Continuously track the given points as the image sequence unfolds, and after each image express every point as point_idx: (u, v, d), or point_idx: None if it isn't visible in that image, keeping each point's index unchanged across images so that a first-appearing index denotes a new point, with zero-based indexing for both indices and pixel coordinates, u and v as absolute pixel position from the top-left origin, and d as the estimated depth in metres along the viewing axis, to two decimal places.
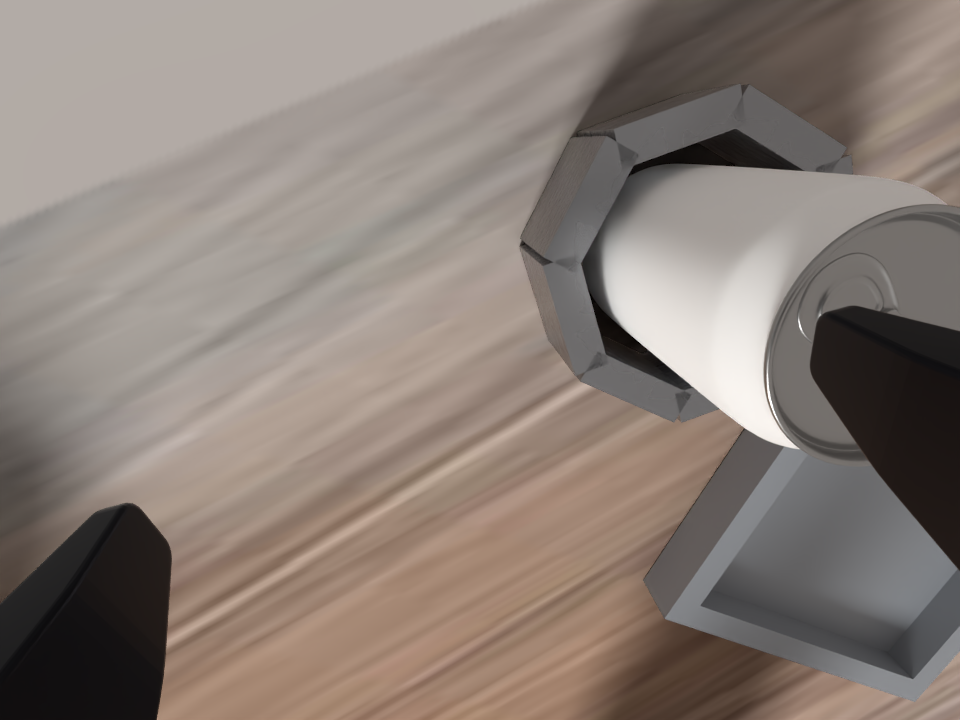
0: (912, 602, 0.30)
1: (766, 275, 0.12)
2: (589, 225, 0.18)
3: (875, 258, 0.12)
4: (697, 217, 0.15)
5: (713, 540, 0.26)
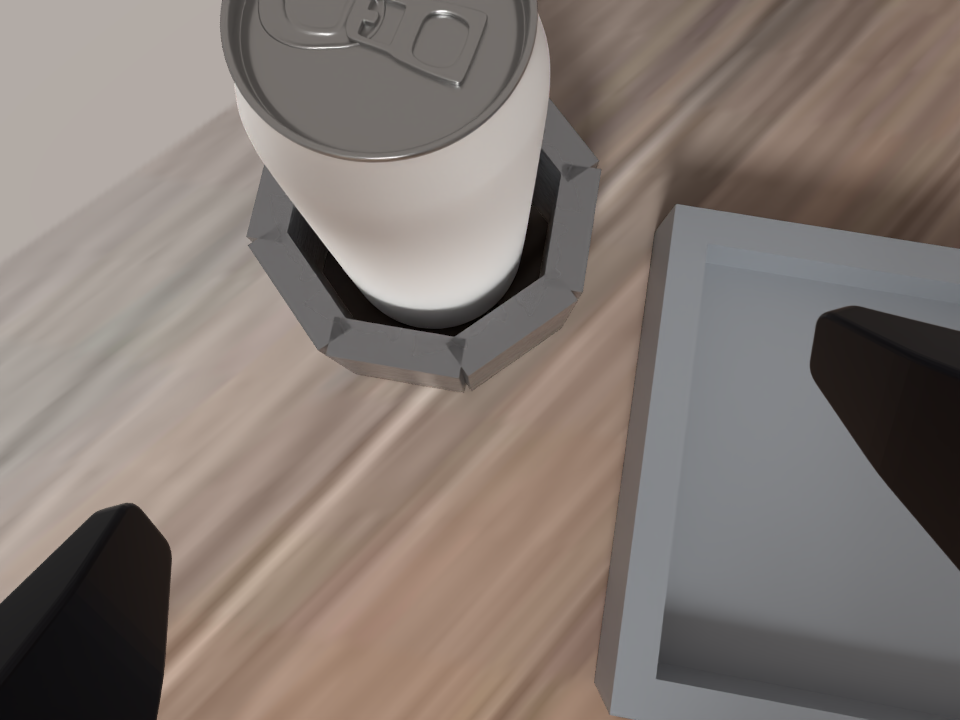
0: None
1: None
2: (284, 195, 0.18)
3: None
4: None
5: (627, 561, 0.18)
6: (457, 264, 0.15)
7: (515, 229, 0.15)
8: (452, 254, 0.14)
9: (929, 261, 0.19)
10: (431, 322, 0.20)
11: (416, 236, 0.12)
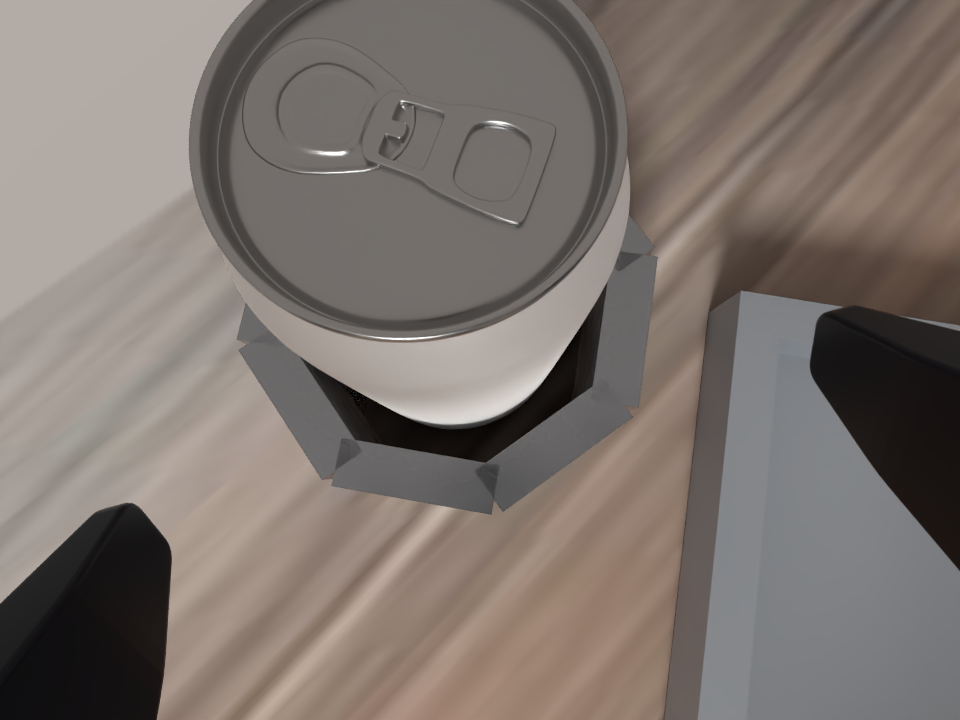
0: None
1: None
2: None
3: (328, 38, 0.08)
4: None
5: None
6: (496, 401, 0.12)
7: None
8: (492, 398, 0.11)
9: None
10: (454, 428, 0.17)
11: (452, 397, 0.09)
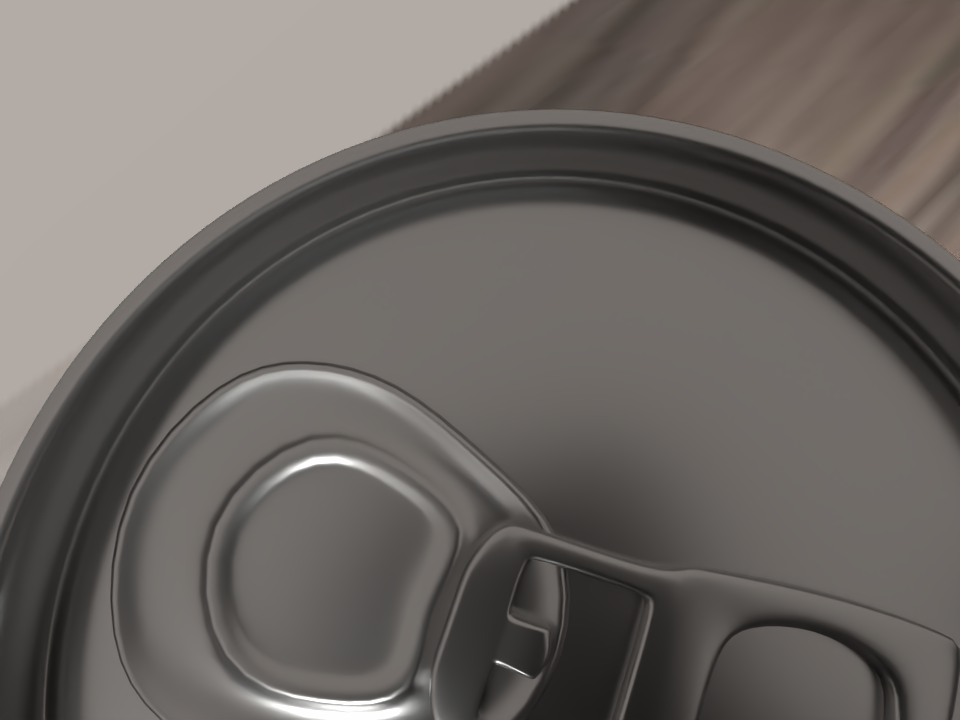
0: None
1: None
2: None
3: (335, 365, 0.03)
4: None
5: None
6: None
7: None
8: None
9: None
10: None
11: None
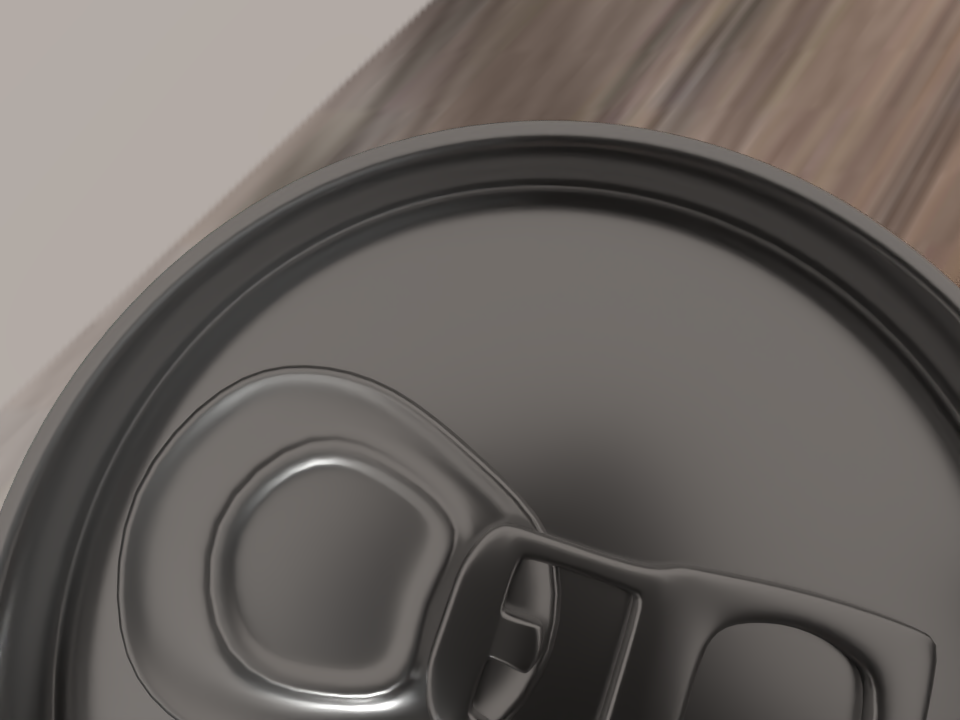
0: None
1: None
2: None
3: (334, 370, 0.03)
4: None
5: None
6: None
7: None
8: None
9: None
10: None
11: None
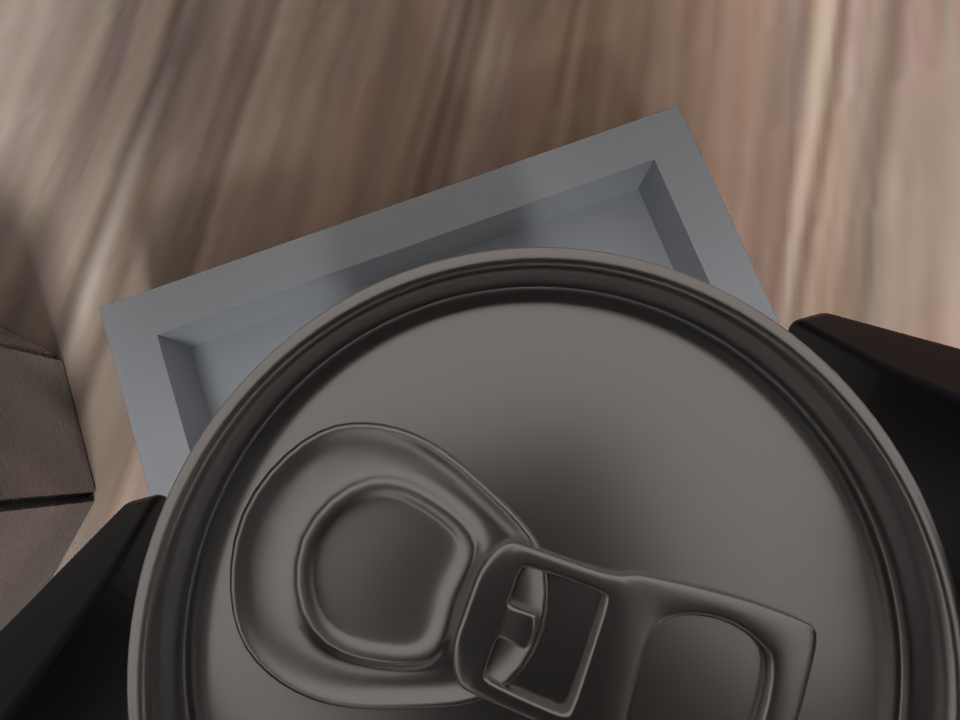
0: None
1: None
2: None
3: (387, 426, 0.04)
4: None
5: None
6: None
7: None
8: None
9: (416, 219, 0.15)
10: None
11: None
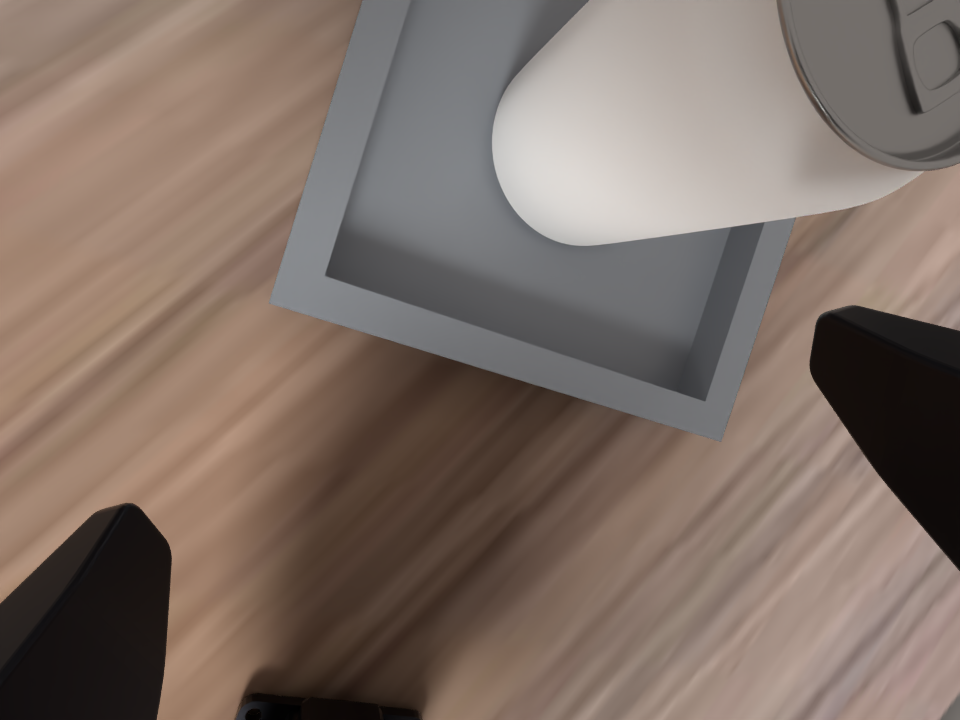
0: (682, 305, 0.22)
1: None
2: None
3: None
4: None
5: None
6: (671, 220, 0.14)
7: None
8: (690, 214, 0.13)
9: None
10: (538, 219, 0.18)
11: (716, 187, 0.11)
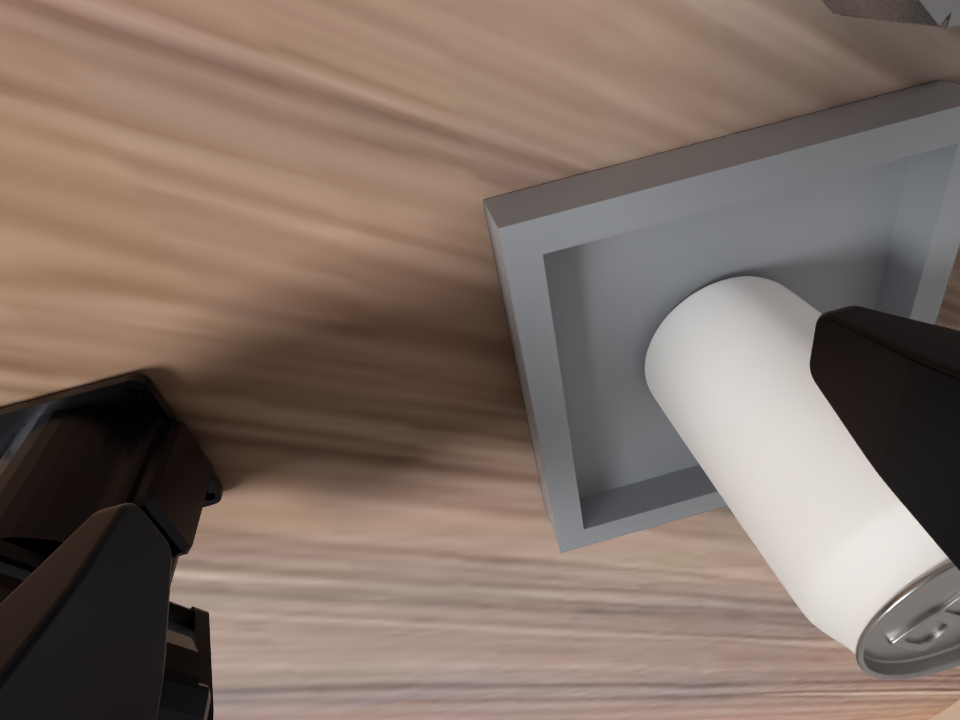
0: (637, 468, 0.27)
1: None
2: None
3: None
4: None
5: (634, 188, 0.18)
6: (732, 497, 0.18)
7: None
8: (748, 517, 0.17)
9: None
10: (661, 363, 0.22)
11: (786, 546, 0.15)
